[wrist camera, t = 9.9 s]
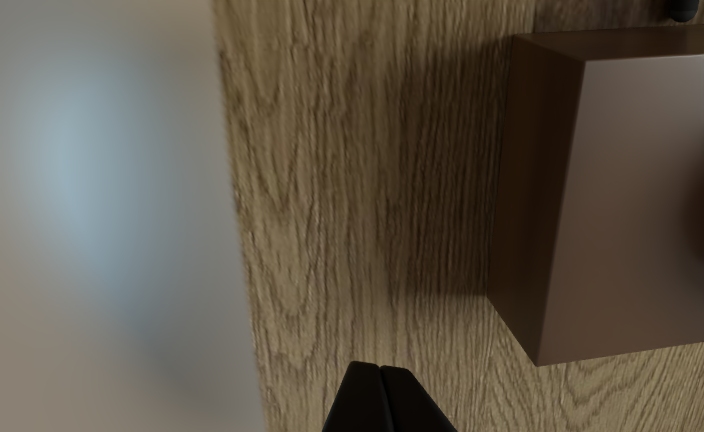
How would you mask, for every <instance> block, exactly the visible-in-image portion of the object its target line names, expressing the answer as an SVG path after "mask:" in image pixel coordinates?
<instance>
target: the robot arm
mask: <svg viewBox="0 0 704 432" xmlns="http://www.w3.org/2000/svg"><path fill="white" fill-rule="evenodd" d="M322 432H457V430H456V429H455V428H454V426H453V425H452V424H451V423H450V421H449V420H448V419H447V417H446V416H445V415H444V414H443V412H442V411H441V410H440V408H439V407H438V406H437V405H436V403H435V402H434V401H433V400H432V398H431V397H430V396H429V394H428V393H427V392H426V391H425V389H424V388H423V387H422V385H421V384H420V383H419V382H418V380H417V379H416V378H415V376H414V375H413V374H412V373H411V372H410V371H409V370H408V369H405V368H400V367H393V366H386V365H383V366H381V367H380V368H379V366H377V365H376V364H373V363H366V362H360V361H352V362H350V364H349V366H348V368H347V371H346V373H345V376H344V378H343V380H342V383H341V385H340V388H339V390H338V393H337V395H336V398H335V400H334V403H333V405H332V408H331V410H330V412H329V415H328V417H327V420H326V422H325V425H324V427H323V430H322Z"/></svg>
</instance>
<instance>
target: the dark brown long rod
mask: <svg viewBox="0 0 704 432" xmlns="http://www.w3.org/2000/svg"><path fill="white" fill-rule="evenodd" d="M698 4H699V0H671V2H670V8H669V14H670V17H671V18H672V19H673V20H674V21H676V22H686V21H689V20H690V19H692V18H693V17H694V16H695V14H696V13H697V10H698Z"/></svg>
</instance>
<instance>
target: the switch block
mask: <svg viewBox="0 0 704 432" xmlns="http://www.w3.org/2000/svg"><path fill="white" fill-rule="evenodd" d="M487 298H488V299H489V301H490V302H491V303H492V305H493V306H494V308H495V309H496V311H497V312H498V314H499V315H500V316H501V318H502V319H503V321H504V322H505V324H506V325H507V326H508V328H509V329H510V331H511V332H512V334H513V335H514V336H515V338H516V339H517V341H518V342H519V344H520V345H521V347H522V348H523V349H524V351H525V352H526V354H527V355H528V357H529V358H530V359H531V361H532V362H533V364H534V365H535V366H536V367H539V366H546V365H552V364H559V363H566V362H572V361H579V360H586V359H592V358H599V357H606V356H612V355H619V354H626V353H632V352H639V351H646V350H652V349H659V348H666V347H673V346H679V345H686V344H693V343H699V342H704V24H699V25H680V26H661V27H642V28H623V29H605V30H586V31H567V32H548V33H529V34H515V35H514V36H513V45H512V55H511V65H510V75H509V84H508V94H507V104H506V114H505V123H504V133H503V143H502V152H501V162H500V172H499V182H498V191H497V201H496V211H495V221H494V230H493V240H492V250H491V259H490V269H489V279H488V289H487Z"/></svg>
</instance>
